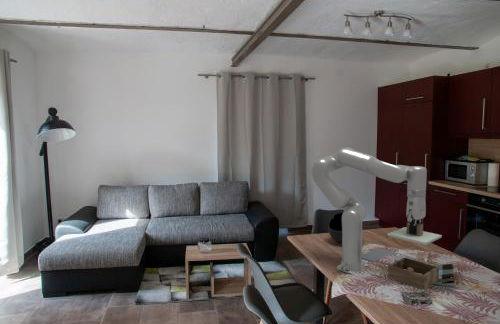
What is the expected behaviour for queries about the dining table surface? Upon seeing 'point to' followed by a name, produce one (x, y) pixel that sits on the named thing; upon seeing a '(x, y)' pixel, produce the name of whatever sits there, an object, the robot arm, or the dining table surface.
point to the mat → (380, 255)
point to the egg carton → (412, 298)
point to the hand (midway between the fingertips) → (414, 232)
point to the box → (410, 278)
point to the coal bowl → (336, 228)
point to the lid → (419, 238)
